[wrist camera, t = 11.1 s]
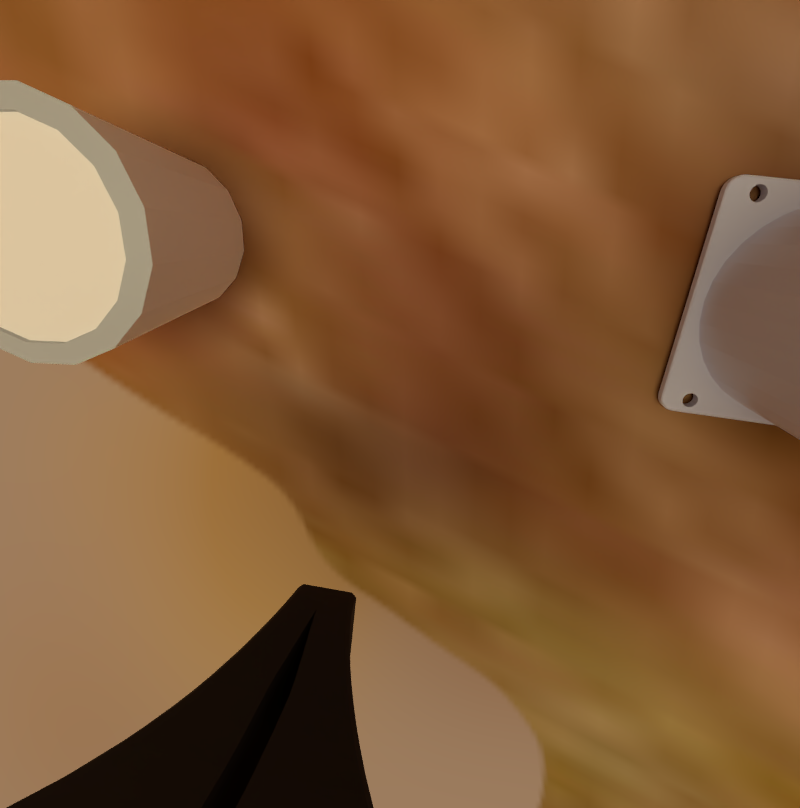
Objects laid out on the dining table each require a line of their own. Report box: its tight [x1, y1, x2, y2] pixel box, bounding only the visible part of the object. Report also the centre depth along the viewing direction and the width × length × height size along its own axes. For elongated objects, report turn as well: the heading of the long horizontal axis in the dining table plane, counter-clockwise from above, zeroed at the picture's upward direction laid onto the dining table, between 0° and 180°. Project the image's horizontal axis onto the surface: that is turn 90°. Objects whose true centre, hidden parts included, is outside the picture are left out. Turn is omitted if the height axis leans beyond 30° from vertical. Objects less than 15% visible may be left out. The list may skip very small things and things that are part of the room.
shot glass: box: [0, 80, 244, 365], centre depth 16 cm, size 7×7×7 cm
